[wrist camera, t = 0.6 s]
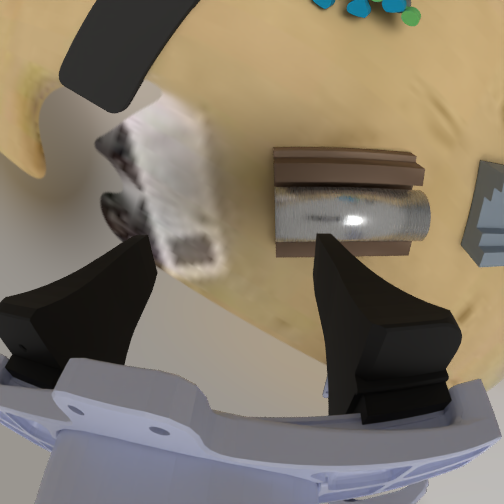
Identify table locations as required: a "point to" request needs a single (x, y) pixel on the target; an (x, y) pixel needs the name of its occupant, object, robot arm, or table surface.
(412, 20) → the gear
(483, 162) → the v block
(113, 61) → the phone
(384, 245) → the brown channel tray
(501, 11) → the table surface
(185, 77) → the table surface
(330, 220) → the axle
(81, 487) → the robot arm
